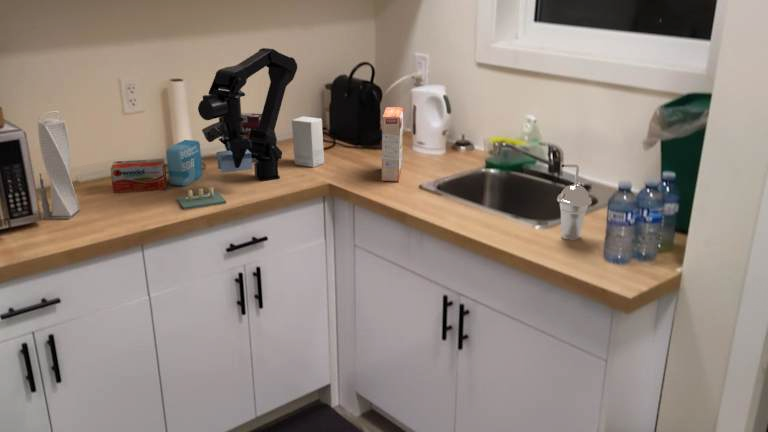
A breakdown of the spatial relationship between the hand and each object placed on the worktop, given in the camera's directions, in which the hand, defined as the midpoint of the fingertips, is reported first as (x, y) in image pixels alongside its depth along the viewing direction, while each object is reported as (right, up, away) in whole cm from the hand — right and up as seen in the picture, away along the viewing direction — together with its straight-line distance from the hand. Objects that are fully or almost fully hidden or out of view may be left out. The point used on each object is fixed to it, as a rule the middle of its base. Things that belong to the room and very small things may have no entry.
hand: (234, 165), depth 211 cm
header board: (-8, -11, -7) cm, 15 cm away
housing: (0, -1, 0) cm, 1 cm away
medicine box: (-30, -7, +5) cm, 31 cm away
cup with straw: (+92, -21, -30) cm, 99 cm away
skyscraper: (-43, -15, -17) cm, 48 cm away
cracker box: (+47, -2, +17) cm, 50 cm away
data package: (-17, -4, +11) cm, 21 cm away
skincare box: (+19, +2, +28) cm, 34 cm away
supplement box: (-1, +4, +33) cm, 33 cm away
